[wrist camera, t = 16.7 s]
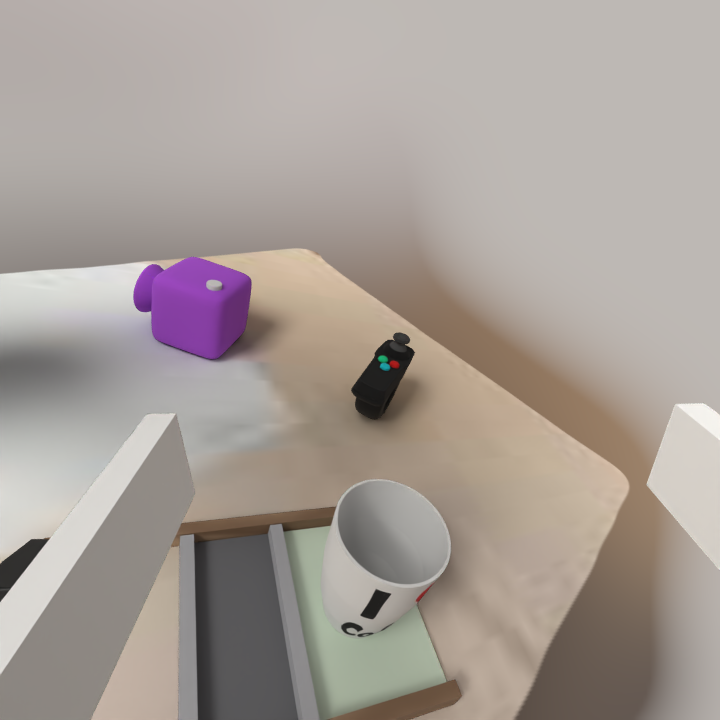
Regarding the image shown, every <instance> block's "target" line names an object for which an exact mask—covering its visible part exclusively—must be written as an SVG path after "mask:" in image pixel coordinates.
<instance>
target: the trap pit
mask: <svg viewBox="0 0 720 720" xmlns="http://www.w3.org/2000/svg"><path fill="white" fill-rule="evenodd" d="M178 720H320V719H319V714H318V709H317V704H316V698H315V693H314V688H313V683H312V678H311V673H310V667H309V662H308V657H307V652H306V647H305V641H304V636H303V631H302V626H301V621H300V616H299V610H298V605H297V600H296V595H295V590H294V585H293V579H292V574H291V569H290V564H289V559H288V554H287V548H286V543H285V538H284V533H283V528H282V524H276V525H270V527H269V531H268V534H261V535H253V536H245V537H237V538H229V539H221V540H214V541H206V542H198V543H194V534H192V535H183V536H180V547H179V686H178Z"/></svg>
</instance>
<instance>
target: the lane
mask: <svg viewBox="0 0 720 720" xmlns="http://www.w3.org/2000/svg"><path fill="white" fill-rule="evenodd" d="M335 510H336V507H329V508H320V509H311V510H301V511H292V512H283V513H273V514H264V515H255V516H245V517H236V518H227V519H218V520H208V521H199V522H190V523H181V525H180V528H179V530H178V532H177V534H176V536H175V538H174V541H173V543H172V545H171V547H174V546H180V536H183V535H192V534H194V543H198V542H206V541H214V540H221V539H229V538H237V537H245V536H253V535H261V534H268V531H269V527H270V525H276V524H282V528H283V532H285V531H293V530H301V529H309V528H317V527H325V526H331V524H332V520H333V517H334V513H335ZM50 538H51V537H50ZM50 538H44V539H50ZM461 696H462V695H461V693H460V690H459V688H458V685H457V683H456V680H452V681H449V682H445V683H442V684H439V685H436V686H433V687H429V688H426V689H423V690H420V691H417V692H413V693H410V694H407V695H404V696H401V697H397V698H394V699H391V700H388V701H385V702H381V703H378V704H375V705H372V706H369V707H365V708H362V709H359V710H356V711H353V712H349V713H346V714H343V715H340V716H337V717H333V718H330V719H327V720H409V719H412V718H415V717H418V716H421V715H424V714H427V713H430V712H433V711H436V710H439V709H442V708H445V707H448V706H450V705H453V704H455V703H456V702H457V701H458V700H459V699H460V697H461Z"/></svg>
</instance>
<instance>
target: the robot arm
mask: <svg viewBox="0 0 720 720" xmlns="http://www.w3.org/2000/svg"><path fill="white" fill-rule="evenodd" d="M647 486H648V487H649V488H650V489H651V491H652V492H653V493H654V494H655V495H656V497H657V498H658V499H659V500H660V501H661V502H662V504H663V505H664V506H665V507H666V508H667V509H668V511H669V512H670V513H671V514H672V515H673V517H675V519H676V520H677V521H678V522H679V523H680V525H681V526H682V527H683V528H684V529H685V531H686V532H687V533H688V534H689V535H690V536H691V538H692V539H693V540H694V541H695V542H696V543H697V545H698V546H699V547H700V548H701V549H702V550H703V552H704V553H705V554H706V555H707V556H708V558H709V559H710V560H711V561H712V562H713V563H714V565H715V566H716V567H717V568H718V569H719V570H720V415H719V414H718V413H716V412H715V411H714V410H712V409H711V408H710V407H708V406H707V405H706V404H675V406H674V409H673V412H672V415H671V417H670V420H669V423H668V426H667V429H666V431H665V434H664V437H663V440H662V443H661V445H660V448H659V451H658V454H657V457H656V459H655V462H654V465H653V468H652V471H651V474H650V476H649V479H648V482H647ZM194 495H195V489H194V485H193V481H192V477H191V473H190V468H189V464H188V460H187V456H186V452H185V448H184V444H183V440H182V435H181V431H180V427H179V423H178V419H177V415H176V413H165V414H147V415H146V416H145V417H144V418H143V420H142V421H141V422H140V424H139V425H138V426H137V427H136V429H135V430H134V431H133V433H132V434H131V435H130V436H129V438H128V439H127V440H126V442H125V443H124V444H123V445H122V447H121V448H120V449H119V450H118V452H117V453H116V454H115V456H114V457H113V458H112V459H111V461H110V462H109V463H108V465H107V466H106V467H105V468H104V470H103V471H102V472H101V474H100V475H99V476H98V477H97V479H96V480H95V481H94V483H93V484H92V485H91V486H90V488H89V489H88V490H87V492H86V493H85V494H84V495H83V497H82V498H81V499H80V501H79V502H78V503H77V504H76V506H75V507H74V508H73V510H72V511H71V512H70V513H69V515H68V516H67V517H66V519H65V520H64V521H63V522H62V524H61V525H60V526H59V528H58V529H57V530H56V531H55V533H54V534H53V535H52V537H51V538H50V539H31V540H30V541H29V542H27V543H26V544H25V545H24V546H22V547H21V548H20V549H18V550H17V551H16V552H14V553H13V554H12V555H10V556H9V557H8V558H7V559H5V560H4V561H3V562H2V563H1V564H0V720H91V718H92V716H93V713H94V711H95V709H96V707H97V705H98V703H99V700H100V698H101V696H102V694H103V692H104V690H105V688H106V685H107V683H108V681H109V679H110V677H111V675H112V672H113V670H114V668H115V666H116V664H117V662H118V659H119V657H120V655H121V653H122V651H123V649H124V646H125V644H126V642H127V640H128V638H129V636H130V633H131V631H132V629H133V627H134V625H135V623H136V620H137V618H138V616H139V614H140V612H141V610H142V608H143V605H144V603H145V601H146V599H147V597H148V595H149V592H150V590H151V588H152V586H153V584H154V582H155V579H156V577H157V575H158V573H159V571H160V569H161V566H162V564H163V562H164V560H165V558H166V556H167V553H168V551H169V549H170V547H171V545H172V543H173V541H174V538H175V536H176V534H177V532H178V530H179V528H180V525H181V523H182V521H183V519H184V517H185V515H186V512H187V510H188V508H189V506H190V504H191V502H192V499H193V497H194Z"/></svg>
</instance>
